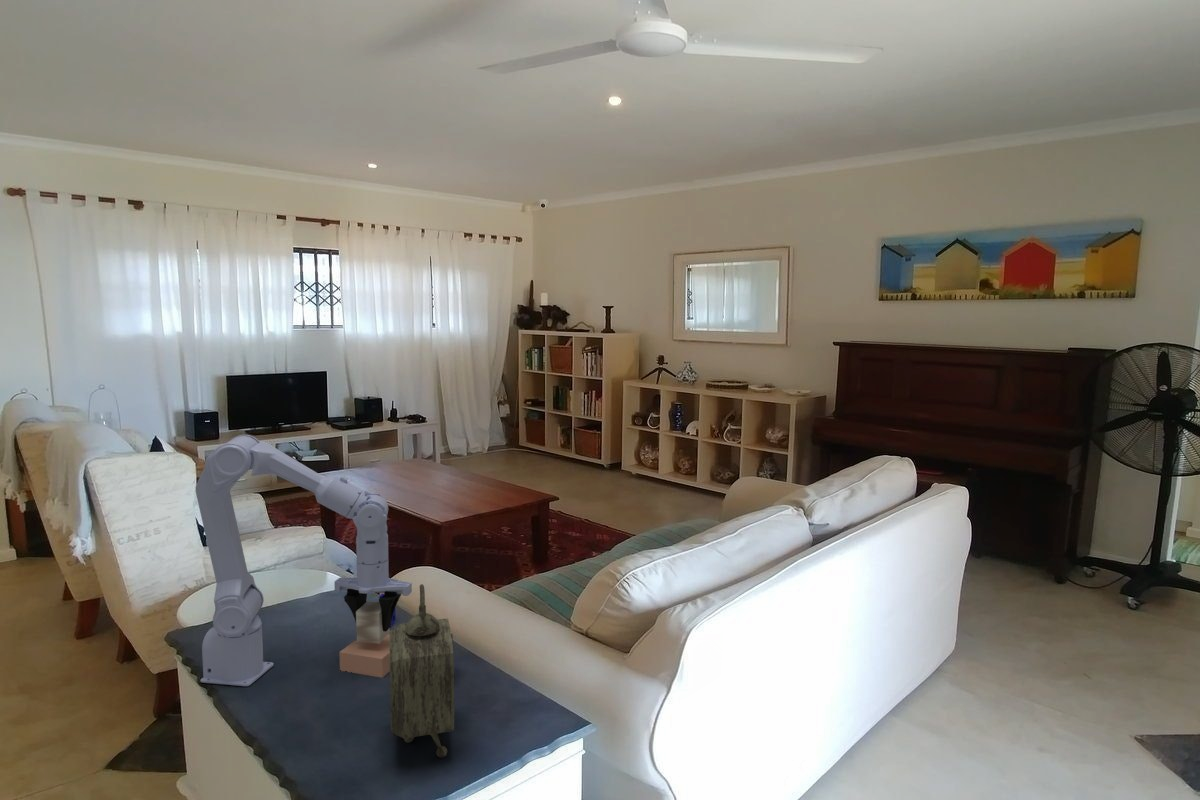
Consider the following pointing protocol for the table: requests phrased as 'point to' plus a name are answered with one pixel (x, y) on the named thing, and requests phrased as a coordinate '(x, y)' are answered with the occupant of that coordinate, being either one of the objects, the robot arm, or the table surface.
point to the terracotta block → (366, 658)
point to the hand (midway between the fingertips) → (374, 628)
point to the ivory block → (370, 623)
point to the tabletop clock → (422, 677)
